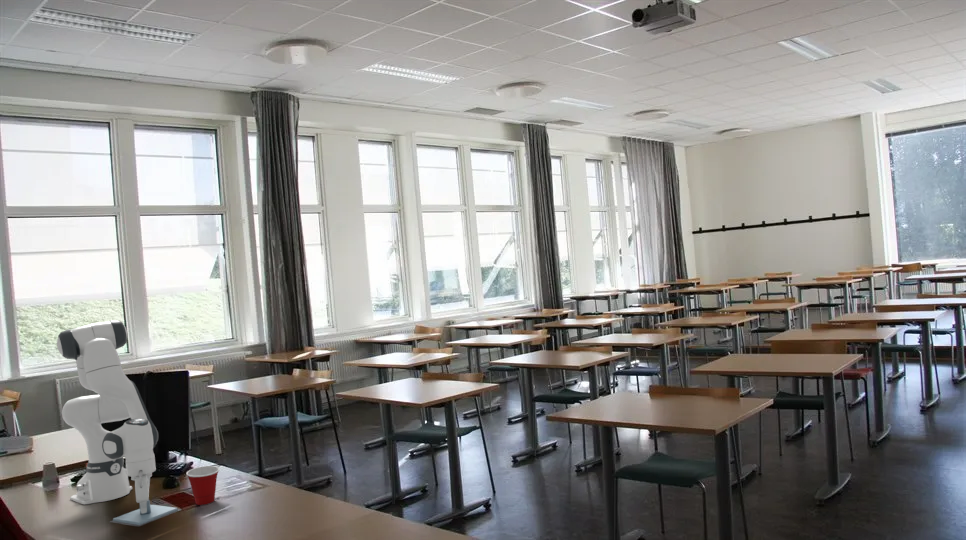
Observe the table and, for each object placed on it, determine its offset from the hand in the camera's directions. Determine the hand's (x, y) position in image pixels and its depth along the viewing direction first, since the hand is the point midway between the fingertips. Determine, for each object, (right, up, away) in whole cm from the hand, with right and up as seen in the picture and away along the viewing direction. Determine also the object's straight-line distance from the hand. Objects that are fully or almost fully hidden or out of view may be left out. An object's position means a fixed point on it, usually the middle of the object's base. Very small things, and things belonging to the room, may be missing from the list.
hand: (144, 508), depth 230 cm
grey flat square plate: (0, -3, 0) cm, 3 cm away
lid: (0, -2, 0) cm, 2 cm away
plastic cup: (+17, -2, +9) cm, 19 cm away
